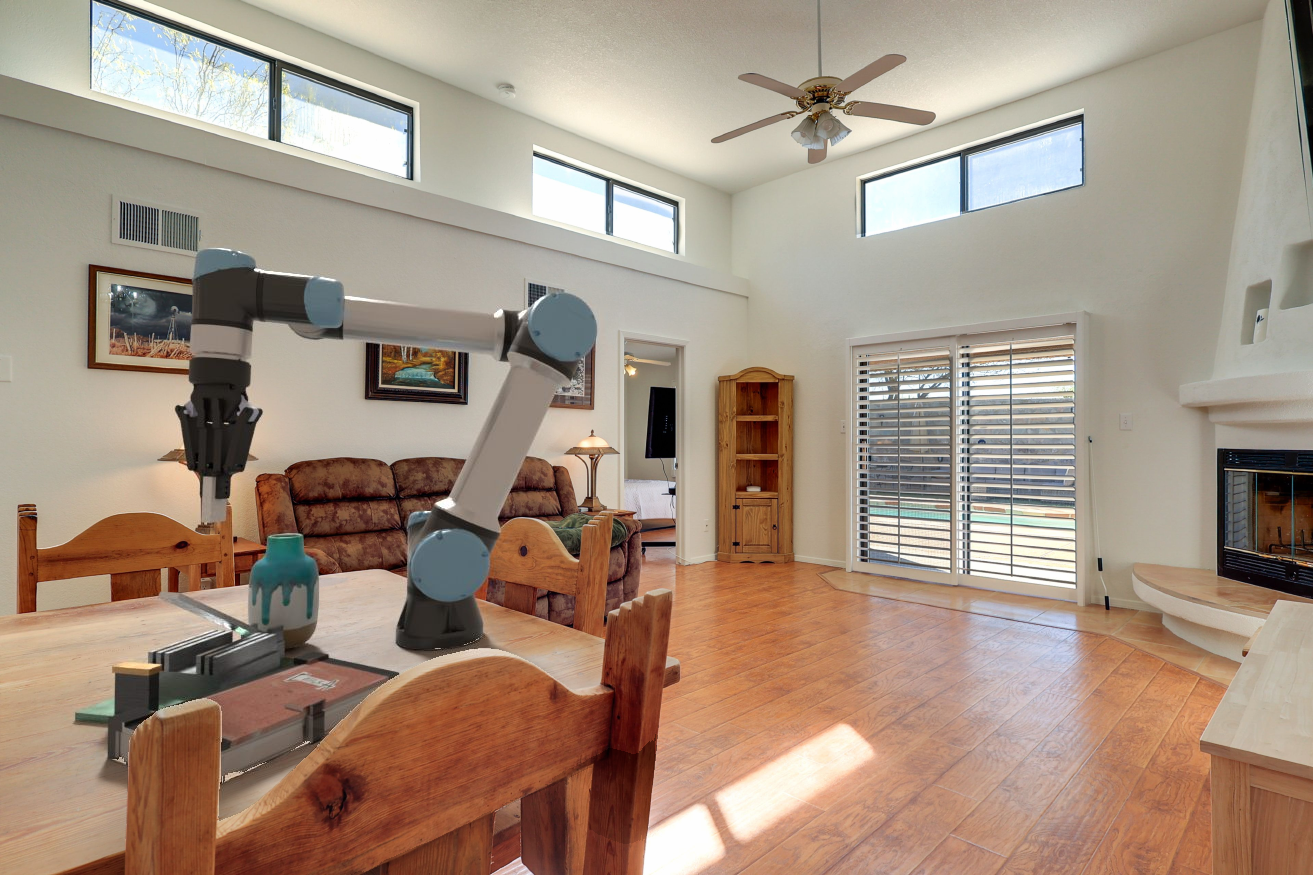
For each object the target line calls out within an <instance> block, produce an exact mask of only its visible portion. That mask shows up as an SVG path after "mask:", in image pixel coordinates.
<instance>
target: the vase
mask: <svg viewBox="0 0 1313 875" xmlns="http://www.w3.org/2000/svg"><path fill="white" fill-rule="evenodd" d="M266 540H267V541H266V548H265V549H266V551H265V554H264V556H262V558H261V559H259V560H256V562H255V563H254V564H253V566H252V567H251V570H250V574H249V580H248V581H249V582H248V593H247V594H248V597H247V617H248V618H247V620H248V624H251V623H258V629H259V630H261V631H263V632H265V633H267V629H268V628H271V627H274V626H276V625H284V626H283V640H285V649H284V650H288V649H292V648H296V647H298V646H302V645H303V644H305V643H306V642H308V641H309V640H310V639H311V638H312V637H313V635H314V633H315V631H316V628H317V626H318V625H317V624H318V620H319V619H318V618H319V617H318V616H319V607H320V576H319V568H318V567H319V566H318V563H317V562H316V560H315V559H314V558H313V557H312V556H308V554H306V551H305V546H304V535H303V534H302V533H280V534H279V533H278V534H271V535H269V536H267V539H266Z"/></svg>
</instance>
